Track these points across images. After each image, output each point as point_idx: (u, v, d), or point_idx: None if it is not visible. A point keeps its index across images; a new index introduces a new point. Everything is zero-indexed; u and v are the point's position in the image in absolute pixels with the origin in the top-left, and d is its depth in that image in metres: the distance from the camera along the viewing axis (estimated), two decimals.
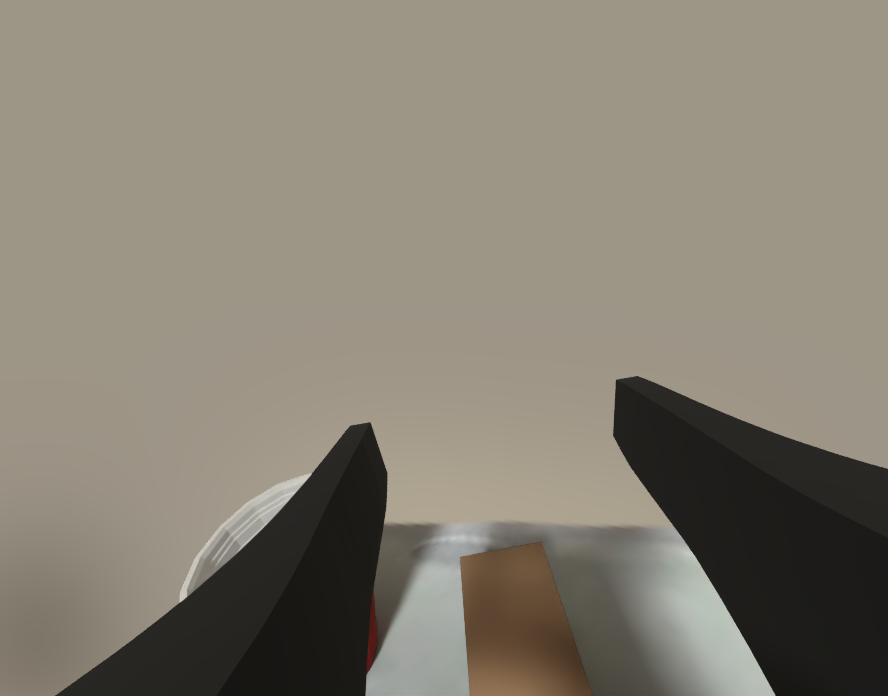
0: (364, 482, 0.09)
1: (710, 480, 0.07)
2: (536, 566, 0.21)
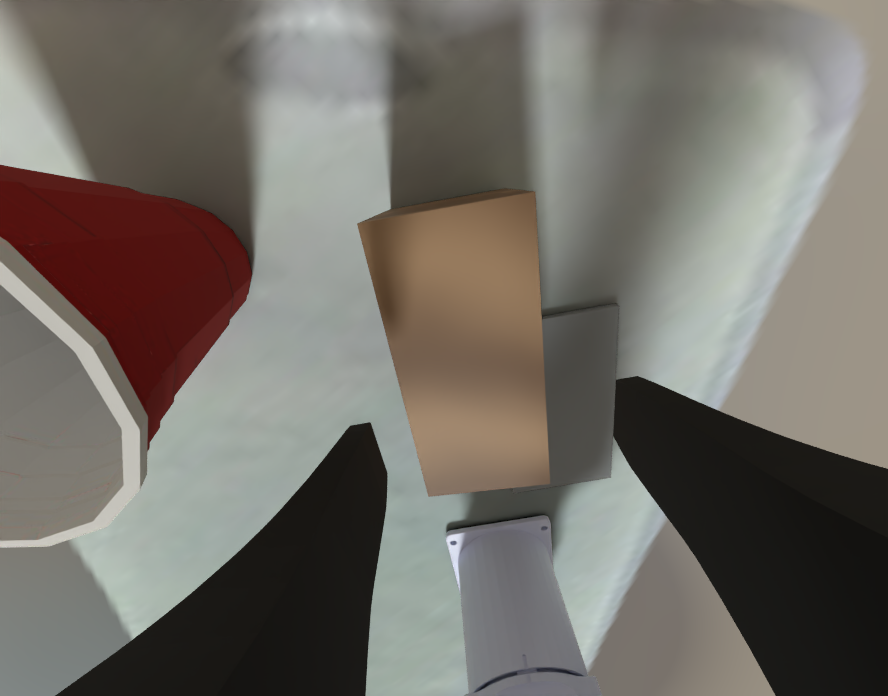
0: (364, 482, 0.09)
1: (710, 480, 0.07)
2: (514, 250, 0.11)
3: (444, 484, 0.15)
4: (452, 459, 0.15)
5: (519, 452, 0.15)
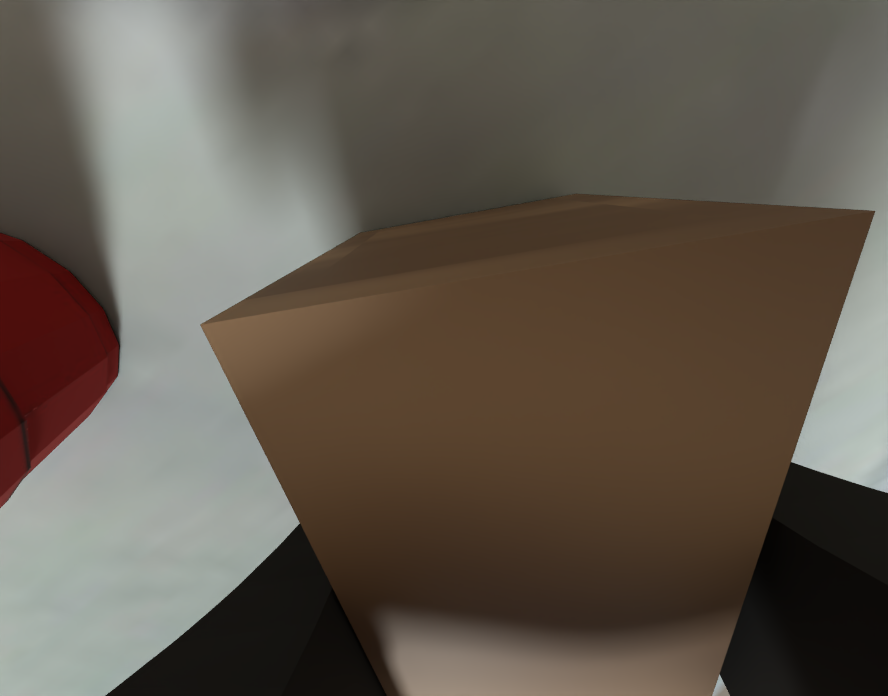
0: None
1: None
2: (734, 400, 0.03)
3: None
4: None
5: None
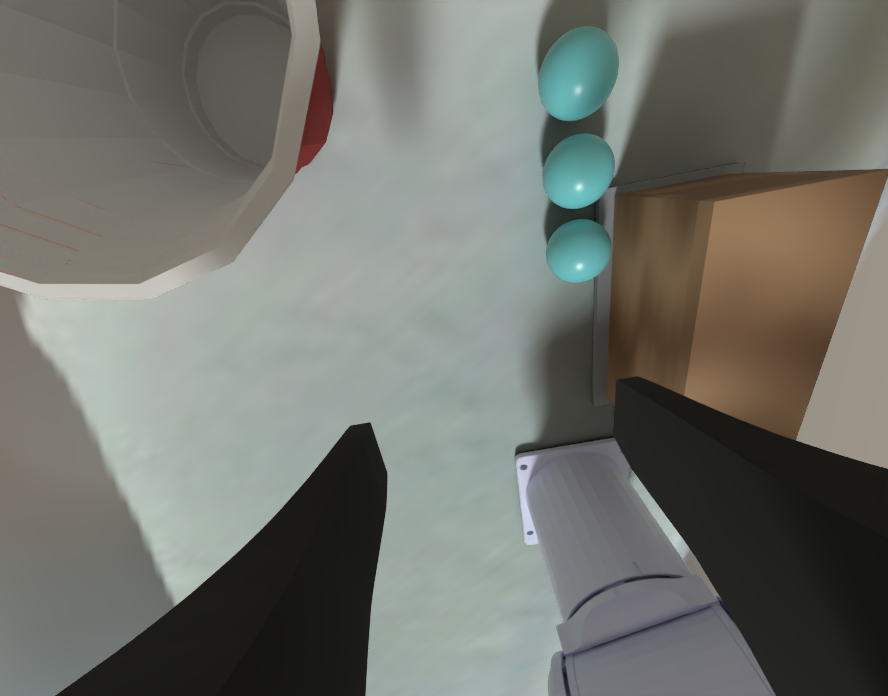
0: (364, 482, 0.09)
1: (710, 480, 0.07)
2: (848, 226, 0.12)
3: None
4: None
5: (774, 425, 0.15)
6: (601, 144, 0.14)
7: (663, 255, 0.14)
